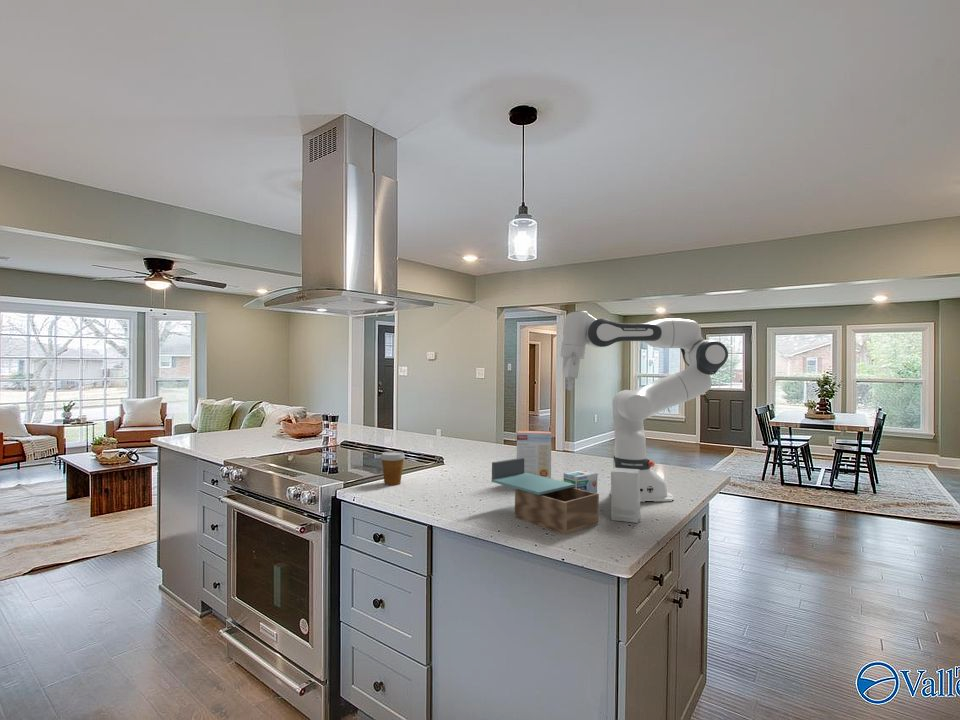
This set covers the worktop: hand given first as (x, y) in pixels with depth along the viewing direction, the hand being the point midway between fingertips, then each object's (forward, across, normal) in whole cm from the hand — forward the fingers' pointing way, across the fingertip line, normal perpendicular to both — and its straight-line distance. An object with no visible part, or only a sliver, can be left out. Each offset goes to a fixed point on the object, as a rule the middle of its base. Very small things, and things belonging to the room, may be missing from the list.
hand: (568, 389), depth 190 cm
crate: (+39, -34, +3) cm, 52 cm away
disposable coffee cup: (+46, +6, +64) cm, 79 cm away
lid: (+31, -26, +11) cm, 42 cm away
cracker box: (+40, +15, +8) cm, 44 cm away
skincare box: (+38, -30, -19) cm, 52 cm away
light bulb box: (+39, -14, -7) cm, 42 cm away
